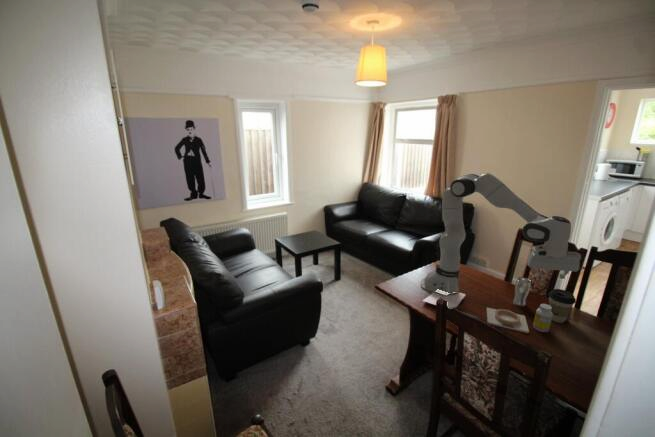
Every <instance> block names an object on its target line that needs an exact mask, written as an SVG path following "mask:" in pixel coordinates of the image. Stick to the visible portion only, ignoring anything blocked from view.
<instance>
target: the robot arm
mask: <svg viewBox="0 0 655 437" xmlns="http://www.w3.org/2000/svg"><path fill="white" fill-rule="evenodd" d="M474 193H478V194H480V195H482V197H484V199H485V200H486V201H488V202H489V204H491V205H492V206H494V207H495V208H499V209H508V210H511V211H514V212H515V213H516V214H517V215H518V216H520V217H521V219H523V220H525V221H526V224H525V225H524V226H523V227H522V236H523V237H524V238H525V239H526V240H527V241H530V242H541V243H542V242H543V243H542V244H540V245H533V246H532V247H531V251H530V252H529V254H528V258H527V260H526V264H527V266H528V267H529V268H530V269H534V270H535V271H536V277H537V278H538V277H539V278H540V277H542V272H540V270H552V271H563V272H562V273H559V279H565V278H566V276H567V275H568V274H570V272H578V271H579V270H580V266H581V265H580V261H581V260H582V255H581V253H579V252H578V251H568V250H569V248H568V247H569V240H570V238H571V232H572V223H571V221H570V220H569V219H568V218H566V217H563V216H560V215H559V216H558V215H551V216H550V217H549V216H546V215H543V214H541V213H539V212H537V211H536V210H535V209H533V208H532V207H531V206H530V205H529V204H527V202H525V201H524V200H523V199H522V198H520V197H519V196H518V195H517V194H515V192H514V191H512V189H510V188H509V187H508V186H507V185H506V184H505V183H504V182H503V181H502V180H500V179H499V178H497V177H496V176H495V175H494V174H491V173H489V172H486V173H482V174H481V175H479V174H474V173H470V174H465V175H461V176H460V177H457V178H456V179H454V180H453V181H452V182H451V184H450V186H449V187H447V188H445V189H444V190H443V193H442V200H441V212H442V213H441V215H442V217H441V218H442V219H441V220H442V222H443V223H444V233H442V235H441V236H440V238H439V248H440V259H439V263H436V264H435V270H433V271H430V272H429V273H427V274H426V276H425V277H424V278H423V279H421V282H420V287H421V288H422V289H423V290H426V291H430V292H433V293H435V292H434V291H436V290H437V289H439V290H442V291H445V292H448V293H453V292H458V293H459V291H460V289H459V278H460V265H461V264H460V262H461V251H460V250H461V246H462V244H463V242H464V241H465V239H466V237H467V236H466V235H467V234H466V230H465V224H464V216H463V214H464V212H463V211H464V208H463V207H464V206H463V205H464V203H463V200H464V198H465V197H468V196H471V195H473V194H474Z"/></svg>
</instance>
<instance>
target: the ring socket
mask: <svg viewBox="0 0 655 437" xmlns="http://www.w3.org/2000/svg"><path fill="white" fill-rule="evenodd" d="M486 320H487V321H486V322H487V323H489V324H488V325H491V324H492V326H496V327H501V328H505V329H509V330H512V331H517V332H520V333H521V332H522V333H526V334H530V330H529V326H528V322H527V319H526V316H525V315H523V314H518V313H516V312H513V311H511V310H509V309H501V308H499V309H495V308H491V307H486Z"/></svg>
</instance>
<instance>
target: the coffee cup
mask: <svg viewBox="0 0 655 437" xmlns="http://www.w3.org/2000/svg"><path fill="white" fill-rule="evenodd" d="M547 295H548V297H549V298H548V305H550V306H551V307H552V310H551V312H552V313H553V316H552V320H551V321H553V322H556V323H561V324H563V323H564V322H565V321H566V320H567V319H568V316H569V315H570V312H571V310H572V308H573V306H574V305H575V304H576V302H577V301H576V300H577V299H576V297H575V295H574V294H573V293H572V292H570V291H568V290H565V289H560V288H554V289H551V290H550V291H549V292H548V294H547Z"/></svg>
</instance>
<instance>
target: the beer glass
mask: <svg viewBox="0 0 655 437" xmlns="http://www.w3.org/2000/svg"><path fill="white" fill-rule="evenodd" d="M531 283H532V280H530V278H527V277H523V276H521V277H520V276H519V277H517V278H516V281H515V286H514V297H513V300H512V303H513V304H514V305H515V306H519V307H525V306H526V301H527V300H526V299H527V296H528V295H529V293H530V290H531Z"/></svg>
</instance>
